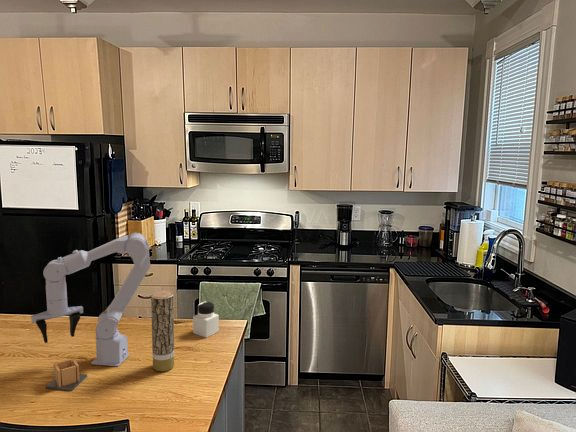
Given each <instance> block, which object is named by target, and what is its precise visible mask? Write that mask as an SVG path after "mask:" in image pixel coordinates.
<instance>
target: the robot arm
mask: <svg viewBox="0 0 576 432" xmlns="http://www.w3.org/2000/svg"><path fill="white" fill-rule="evenodd" d="M149 249H150V247H149V243H148V241H147V239H146V237H145V235H143V234H142V233H140V232H132V233H131V234H129V235H128V234H127V235H122V236H121V237H118V238H115V239H113V240H111V241H109V242H106V243H105V244H102V245H100V246H98V247H95V248H93V249H91V250H89V251H86V250H82V249H81V250H78V249H75V250H73V251H72V253H70V254H68V255H65V256H63V257H62V256H60V257H59V256H58V257H57V259H53V260H51V261H49V262H48V263H47V265H46V266H45V267H44V269H43V270H42V271H43V275H42V276H43V277H44V279H45V295H46V311H43V312H40V313H36V314H32V315H30V321H31V323H32V324H36V326H37V327H38V328H39V331H40V333H41V335H42V338H43V342H44V343H45V344H48V339H49V338H48V333H47V331H48V330H47V329H48V327H47V326H48V325H47V323H46V321H47V320H51V319H57V318H60V317H61V318H62V317H67V316H68V318H69V334H70V336H71V338H72V337H75V332H76V330H77V325H78V323H79V321H80V320H81V314H83V313H84V307H83V306H82V305H80V306H79V305H78V306H69V305H68V292H67V291H68V290H67V282H66V276H67V275H71V274H74V273H76V272H78V271H80V270H83V269H86V268H89V267H90V265H91V263H92V261H96V260H98V259H101V258H104V257H107V256H109V255H111V254H115V253H118V254H120V255H121V254H122V255H125V254H126V253H127V254H128V255H129V257H130V258H131V259H132V262H133V266H132V267H131V269H130V271H129V273H128V275H127V277H126V278H125V279H124V282H123V284H122V285H121V286H120V288H119V290H118V291H117V293H116V294H115V297H114V298H113V300H112V301H111V303H110V304H109V305H108V306H107V308H106V309H105V310H104V311H103V312H101V313H100V314H99V316H98V317H97V325H96V326H95V348H96V349H95V350H96V357H95V359H94V360H93V361H91V362H90V364H91V365H95V366H96V365H97V366H110V367H119V366H120V365H121V364H122V363H124V361H125V360H126V359H127V358H128V357H129V356H130V354H129V344H128V343H129V342H128V340H129V339H128V337H127V335H124V334H122V333H120V331H119V329H118V324H119V323H120V320H121V317H122V316H123V313H124V312H125V310H126V308H127V306H128V305H129V303H130V301H131V300H132V298H133V297H134V295H135V293H136V291H137V290H138V288H139V286H140V285H141V283H142V281H143V280H144V278H145V276H146V274H147V273H148V271H149V270H150V269H151V261H150V260H151V259H150V258H151V257H150V250H149Z"/></svg>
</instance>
